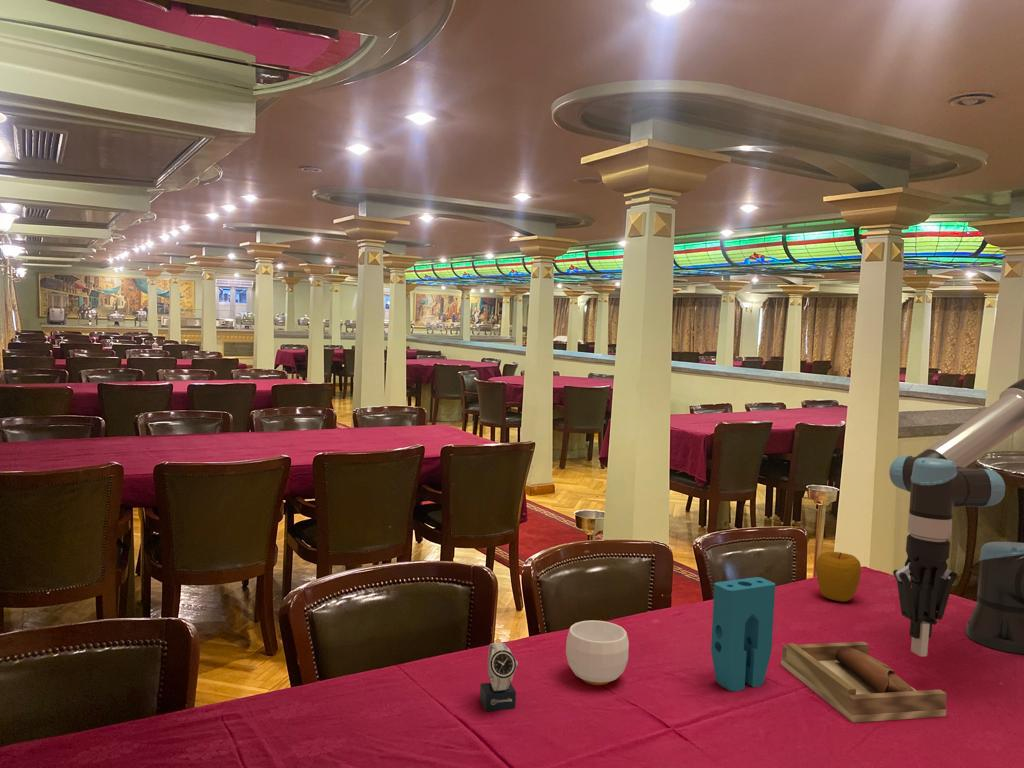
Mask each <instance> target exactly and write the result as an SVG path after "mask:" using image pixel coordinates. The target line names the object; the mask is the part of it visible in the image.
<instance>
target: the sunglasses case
mask: <svg viewBox="0 0 1024 768" xmlns="http://www.w3.org/2000/svg"><path fill="white" fill-rule="evenodd" d="M835 658H836V660H837V661H838V662H840V663H841V664H843V665H844V666H845V667H847V668H848V669H850V670H852V671H853V672H854V673H855V674H856V675H857V676H858V677H859V678H861V679H862V680H864V681H865V682H866V683H867V684H868V685H869V686H870V687H871V688H873V689H874V690H875V691H876V692H877V693H890V692H906V691H914V690H913V689H912V688H913V687H912V686H911V685H909V684H908V683H907V682H906V681H905V680H903V678H901V677H900V676H899V675H898V674H896V673H895V670H894V669H892V667H890V666H889V665H888V664H886V663H885V662H882V661H880V660H878V659H876V658H875V657H873V656H871V655H869V653H868V654H866V653H863V652H861V651H858V650H856V649H853V648H849V647H841V648H840V649H839V650H838V651H837V652H836V656H835ZM910 686H911V687H912V688H911V687H910Z"/></svg>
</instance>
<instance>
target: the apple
mask: <svg viewBox="0 0 1024 768" xmlns="http://www.w3.org/2000/svg"><path fill="white" fill-rule="evenodd" d="M818 555H819V556H818V558H817V559H816V563H815V564H816V565H815V575H816V576H815V577H816V580H817V582H818V583H817V584H818V587H819V590H820V593H821V594H822V596H823V597H825V598H826V599H828V600H832V601H837V602H848V601H850V600H851V599H852V598H853V597H854V596H855V594H856V592H857V590H858V587H859V583H860V579H861V575H862V565H861V562H860V560H859V559H858V558H857V557H856V556H854V555H852V554H851V553H850V554H849V553H844V552H840V551H824V552H823V553H820V554H818Z"/></svg>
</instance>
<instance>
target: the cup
mask: <svg viewBox="0 0 1024 768" xmlns="http://www.w3.org/2000/svg"><path fill="white" fill-rule="evenodd" d="M565 645H566V646H565V654H566V659H567V663H568V666H569V668H570V669H571V671H572V672H573V673H574V675H575V676H576V677H577V678H580V679H582V681H584V682H585V683H587V684H589V685H593V686H604V685H607V684H609V683H610V682H613V681H615V680H617V679H618V678H619V677H620V676H621V675H622V674H623V673H624V672H625V669H626V666H627V664H628V662H629V661H628V660H629V649H630V648H629V646H630V641H629V637H628V633H627V631H626V630H625V629H624V627H622V626H620V625H618V624H616V623H613V622H608V621H605V620H597V619H596V620H594V619H593V620H583V621H579V622H575V623H574V624H572V625H571V626H570V627H569V630H568V634H567V637H566V643H565Z"/></svg>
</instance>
